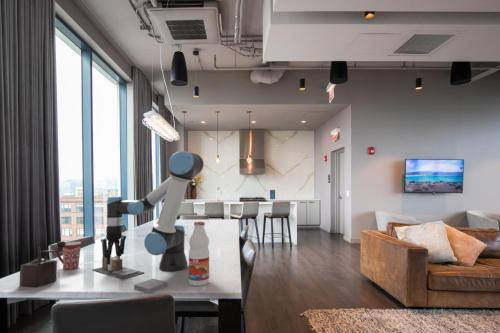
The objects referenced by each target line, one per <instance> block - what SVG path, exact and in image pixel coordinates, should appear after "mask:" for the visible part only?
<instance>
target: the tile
mask: <svg viewBox="0 0 500 333" xmlns="http://www.w3.org/2000/svg"><path fill="white" fill-rule="evenodd" d="M167 287H168V282H167V281H165V280H164V281H163V280H160V279H157V278H150V279H147V280H145V281H140V282H138V283H134V284H133V289H134V290H138V291H141V292H144V293H147V294H151V293H153V292H155V291H159V290H161V289H164V288H167Z"/></svg>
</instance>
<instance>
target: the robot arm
mask: <svg viewBox="0 0 500 333" xmlns="http://www.w3.org/2000/svg"><path fill="white" fill-rule="evenodd" d="M204 164H205V163H204V160H203V158H202V156H200V155H199V154H198V153H195V152H194V153H193V152H189V151H185V150H180V151H176V152H175V153H173V154H172V155H171V157H170V158H169V160H168V167H169V169H170V171H169V177H168V178H167V179H166V180H164V181H163V182H162V183H161V184H159V185H158V186H157V187H156V188H155V189H154V190H151V192H149V193H148V194H147V195H146V196H145V197H143V198H141V199H132V200H129V199H127V200H124V199H123V196H118V195H117V196H115V195H113V196H108V198H107V201H106V202H107V203H106V234H105V235H106V236H105V237H104V238H101V239H100V242H101V245H102V246H101V247H102V248H101V249H102V257H105V258H107V261H106V263H107V264H108V270H109V271H112V258H111V257H112V252H113V246H114V248H115V249H114V250H115V256H114V257H115V258H119V259H121V257H122V255H124V254H125V244H126V238H127V236H126V235H124V234H122V231H123V226H122V224H123V215H132V216H139V215H141V214H144V213H150V212H152V211H154V210H155V209H156V206H157V205H159V203H160V202H162V201H163V200H164V201H163V204H162V207H161V210H160V213H159V217H158V219H157V222H156V223H155V224H153V225H152V228H151V232H149V233H148V234H146V236H145V237H144V248H145V249H146V251H147V253H149V254H150V255H151V256H160V255H162V256H161V258H160V262H159V263H158V266H159V267H158V269H159V270H161V271H163V272H164V271H165V272H169V271H170V272H173V271H181V270H184V269H186V268H187V267H188V261H187V260H188V259H187V256H186V253H185V238H186V237H185V235H186V234H185V232H186V231H185V226H183V225H176V222H177V218H178V216H179V212H180V210H181V206H182V202H183V199H184V197H185V193H186V190H187V187H188V184H189V183H190V182H192V181H193V179H194V178H195V177H196V176H198V175H199V174H201V172H202V171H203V168H204Z"/></svg>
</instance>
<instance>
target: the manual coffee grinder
mask: <svg viewBox="0 0 500 333" xmlns="http://www.w3.org/2000/svg"><path fill="white" fill-rule="evenodd" d="M66 243H67V242H65V241H64V240H63V241H61V240H59V241H58V242H57V243H56V246H57V249H56V250H42V247H40V246H39V247H38V248H37V249H38V250H37V252H38V254H37V255H38V256H37V258H36V259H33V260H32V261H31V262H27V263H24V264H20V266H19V267H20V268H19V283H18V285H19V286H20V285H21V286H20V287H27V286H28V287H29V288H30V287H31V288H39V286H40V287H42V286H45V285H48V284H51V283H53V282H54V281H56V280H57V279H58V278H57V273H58V272H57V270H58V263H57V262H58V261H57V260H55V259H54V260H53V259H52V260H51V259H47V258H44V257H42V255H41V254H43V253H56V252H59V253H60V252H63V247H64V246H65V245H66Z"/></svg>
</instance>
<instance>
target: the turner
mask: <svg viewBox="0 0 500 333" xmlns="http://www.w3.org/2000/svg"><path fill="white" fill-rule="evenodd" d="M101 258H102V259H101V261H102V262H101V264H102V265H101V267H102V268H104V269H107V270H108V264H107V263H106V261H107V258H105V257H103V256H102V257H101ZM111 258H112V271H114V272H112V274H115V275H119V276H122V277H125V276H129V275H132V274H136V273H138V271H139V270H136V269H133V270H131V269H132V268H129V269H128V267H125V269H122V267H123V259H122V258H120V259H119V258H115V256H111ZM135 270H136V271H135Z"/></svg>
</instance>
